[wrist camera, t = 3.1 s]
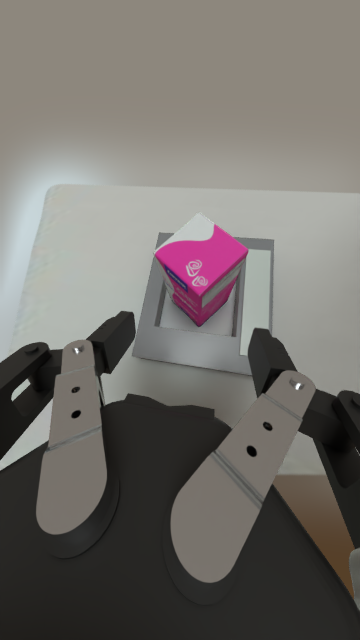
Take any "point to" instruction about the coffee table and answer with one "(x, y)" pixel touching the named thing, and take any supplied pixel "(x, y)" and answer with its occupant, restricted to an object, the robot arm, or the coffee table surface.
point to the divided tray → (205, 347)
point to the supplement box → (200, 267)
